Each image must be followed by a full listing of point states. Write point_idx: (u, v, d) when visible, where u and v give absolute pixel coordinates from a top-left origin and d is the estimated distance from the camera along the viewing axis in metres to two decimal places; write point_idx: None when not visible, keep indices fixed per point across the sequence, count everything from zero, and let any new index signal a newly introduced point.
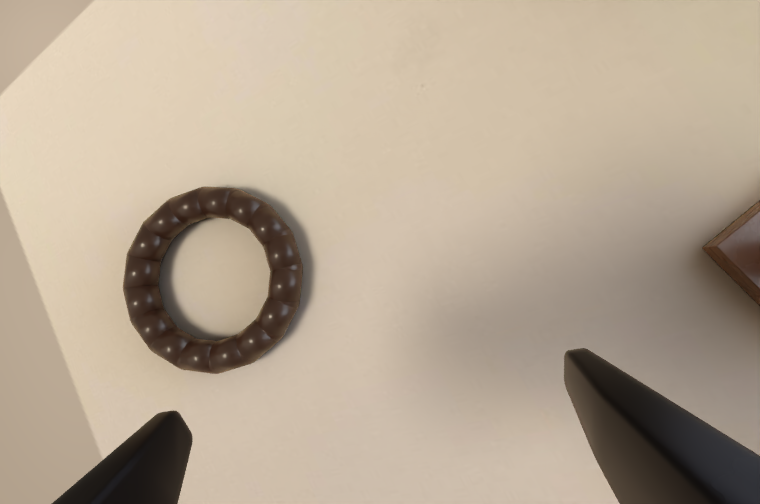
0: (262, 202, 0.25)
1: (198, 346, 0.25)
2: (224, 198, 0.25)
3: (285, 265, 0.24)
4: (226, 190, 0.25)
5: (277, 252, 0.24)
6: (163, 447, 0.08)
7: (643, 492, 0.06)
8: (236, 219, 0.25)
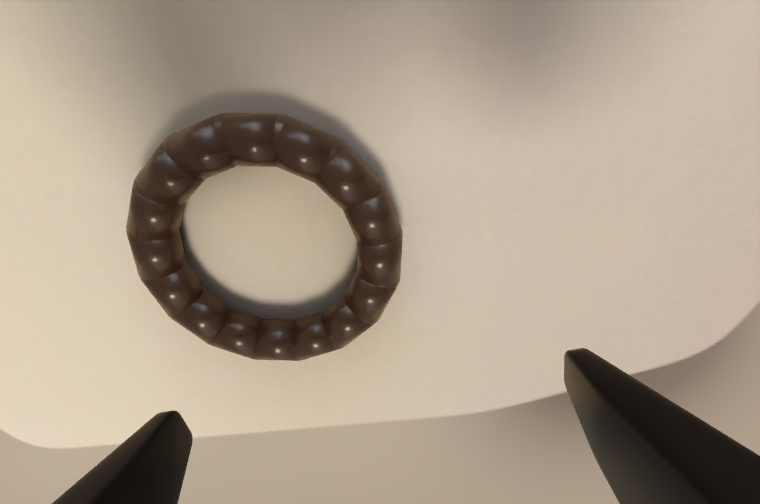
0: (161, 144, 0.15)
1: (355, 294, 0.18)
2: (144, 200, 0.16)
3: (271, 137, 0.15)
4: (134, 195, 0.16)
5: (246, 143, 0.15)
6: (163, 447, 0.08)
7: (643, 492, 0.06)
8: (183, 193, 0.16)
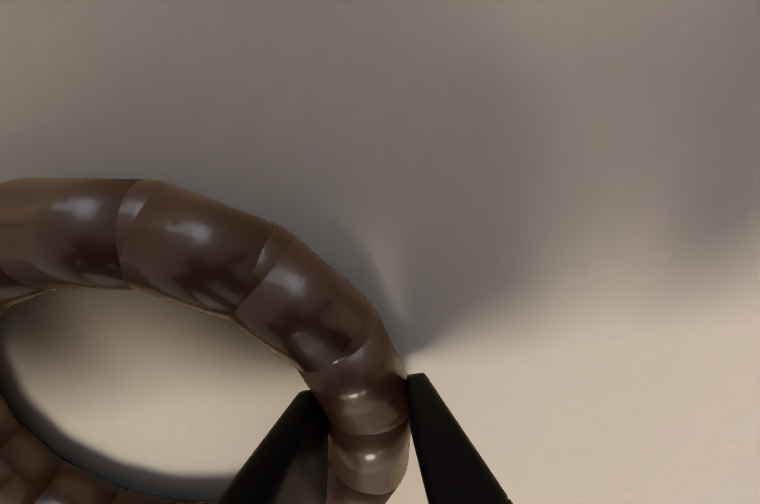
0: None
1: None
2: None
3: (110, 241, 0.06)
4: None
5: (53, 256, 0.06)
6: (315, 425, 0.08)
7: None
8: None
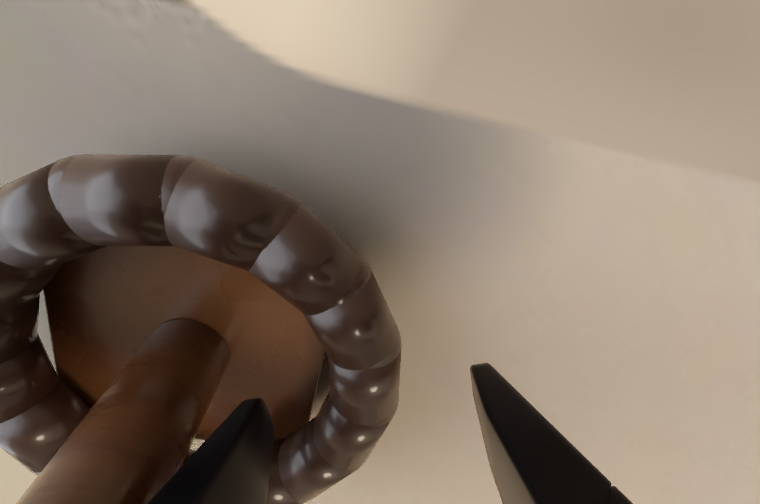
0: None
1: (328, 432, 0.11)
2: None
3: (157, 202, 0.08)
4: None
5: (111, 214, 0.08)
6: (254, 434, 0.08)
7: None
8: (18, 293, 0.09)
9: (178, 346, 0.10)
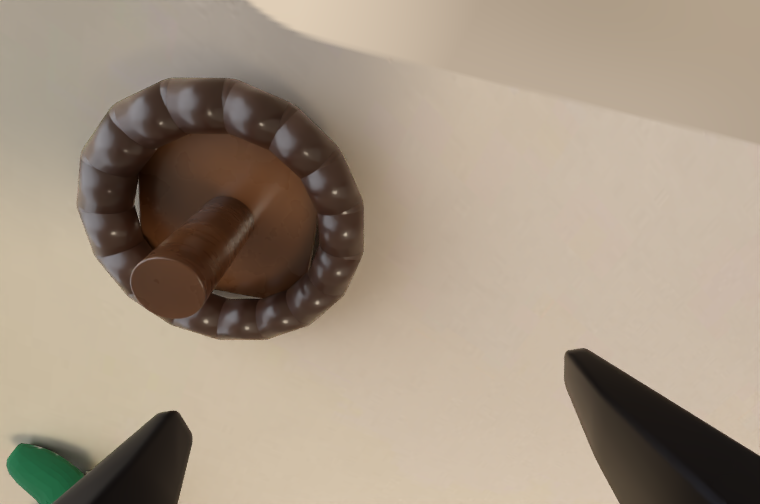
0: (108, 112, 0.15)
1: (318, 267, 0.17)
2: (92, 171, 0.15)
3: (219, 101, 0.14)
4: (82, 166, 0.15)
5: (194, 107, 0.14)
6: (163, 447, 0.08)
7: (643, 492, 0.06)
8: (133, 163, 0.15)
9: (224, 206, 0.17)
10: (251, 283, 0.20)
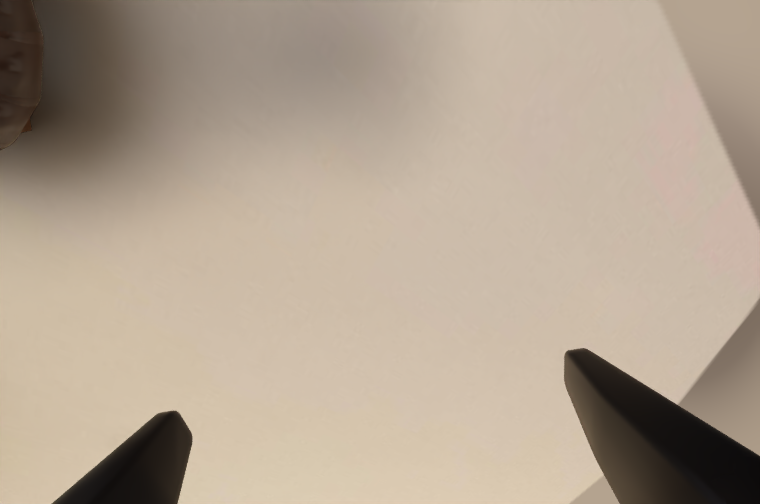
0: None
1: None
2: None
3: None
4: None
5: None
6: (163, 447, 0.08)
7: (643, 492, 0.06)
8: None
9: None
10: None
